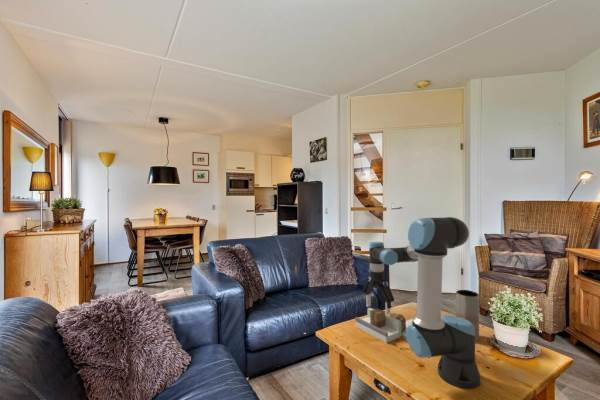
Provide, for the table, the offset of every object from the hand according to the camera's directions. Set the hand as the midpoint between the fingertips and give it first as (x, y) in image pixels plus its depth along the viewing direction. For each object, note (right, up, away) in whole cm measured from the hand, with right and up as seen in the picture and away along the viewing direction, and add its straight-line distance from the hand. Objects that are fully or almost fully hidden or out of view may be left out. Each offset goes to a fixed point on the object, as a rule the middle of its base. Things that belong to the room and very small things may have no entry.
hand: (377, 310), depth 154 cm
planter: (+44, -11, -7) cm, 46 cm away
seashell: (+11, -12, +4) cm, 17 cm away
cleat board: (0, -12, +1) cm, 12 cm away
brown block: (0, -9, +1) cm, 9 cm away
